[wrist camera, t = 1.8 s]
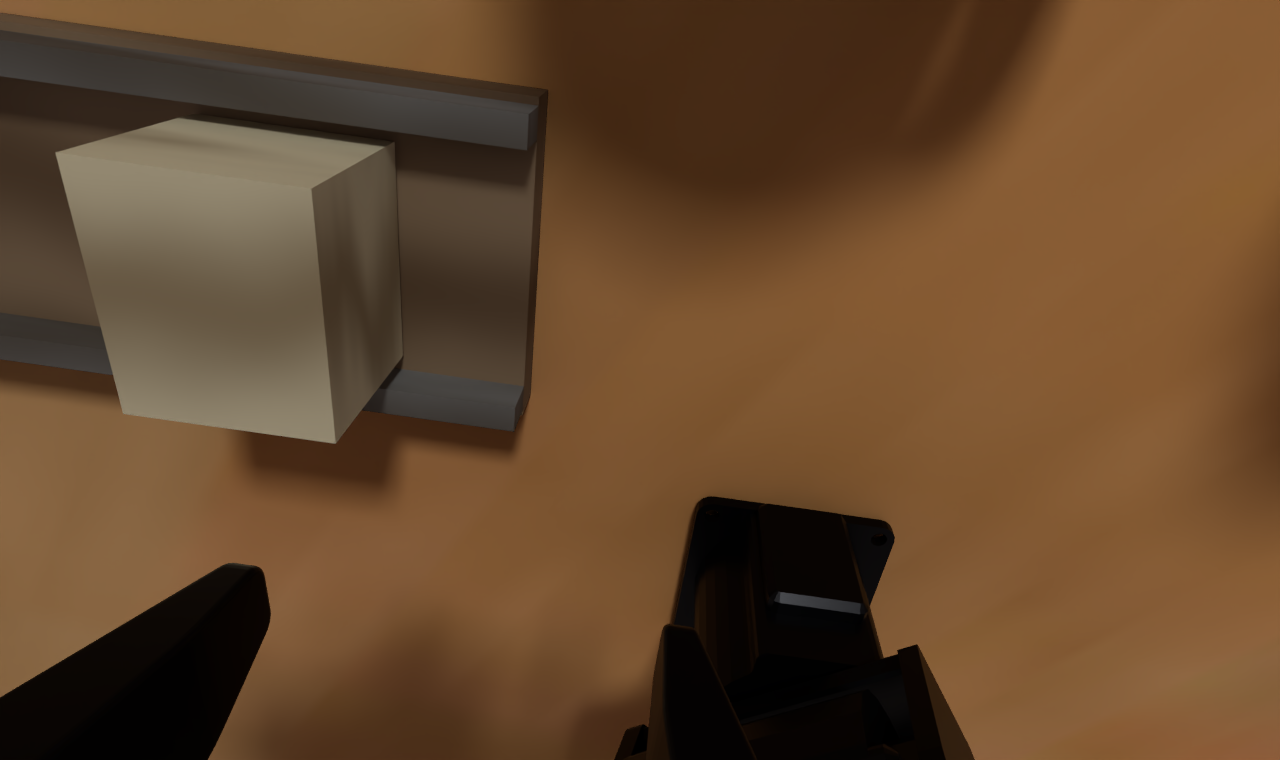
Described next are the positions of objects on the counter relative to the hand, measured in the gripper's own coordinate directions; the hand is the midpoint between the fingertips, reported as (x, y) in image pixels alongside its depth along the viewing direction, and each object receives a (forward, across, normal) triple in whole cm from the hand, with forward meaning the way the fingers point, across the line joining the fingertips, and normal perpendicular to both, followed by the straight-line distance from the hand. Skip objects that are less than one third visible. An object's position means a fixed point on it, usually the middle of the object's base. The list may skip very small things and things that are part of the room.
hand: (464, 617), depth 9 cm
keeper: (+12, +7, 0) cm, 14 cm away
